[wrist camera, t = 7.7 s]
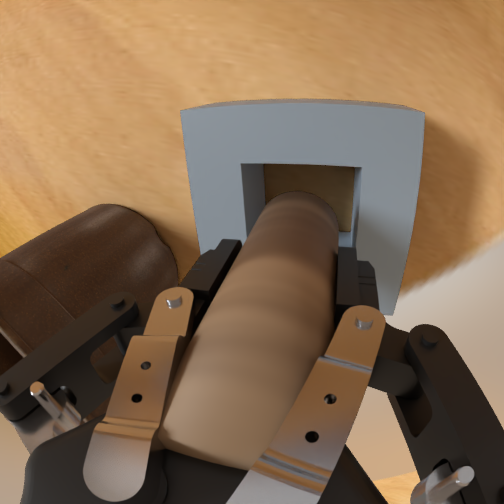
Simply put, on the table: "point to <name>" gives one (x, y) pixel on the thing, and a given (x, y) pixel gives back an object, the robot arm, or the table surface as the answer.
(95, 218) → the plant pot
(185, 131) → the socket block
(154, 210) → the table surface
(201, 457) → the dowel
